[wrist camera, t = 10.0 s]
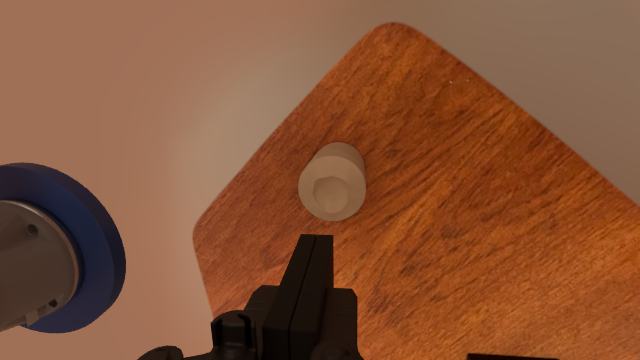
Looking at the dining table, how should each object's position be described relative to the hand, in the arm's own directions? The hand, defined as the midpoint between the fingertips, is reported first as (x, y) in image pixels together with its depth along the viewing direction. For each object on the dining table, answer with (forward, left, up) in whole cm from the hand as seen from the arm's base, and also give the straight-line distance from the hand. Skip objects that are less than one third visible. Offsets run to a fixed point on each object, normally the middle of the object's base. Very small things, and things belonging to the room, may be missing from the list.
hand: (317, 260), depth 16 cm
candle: (0, 0, -20) cm, 20 cm away
